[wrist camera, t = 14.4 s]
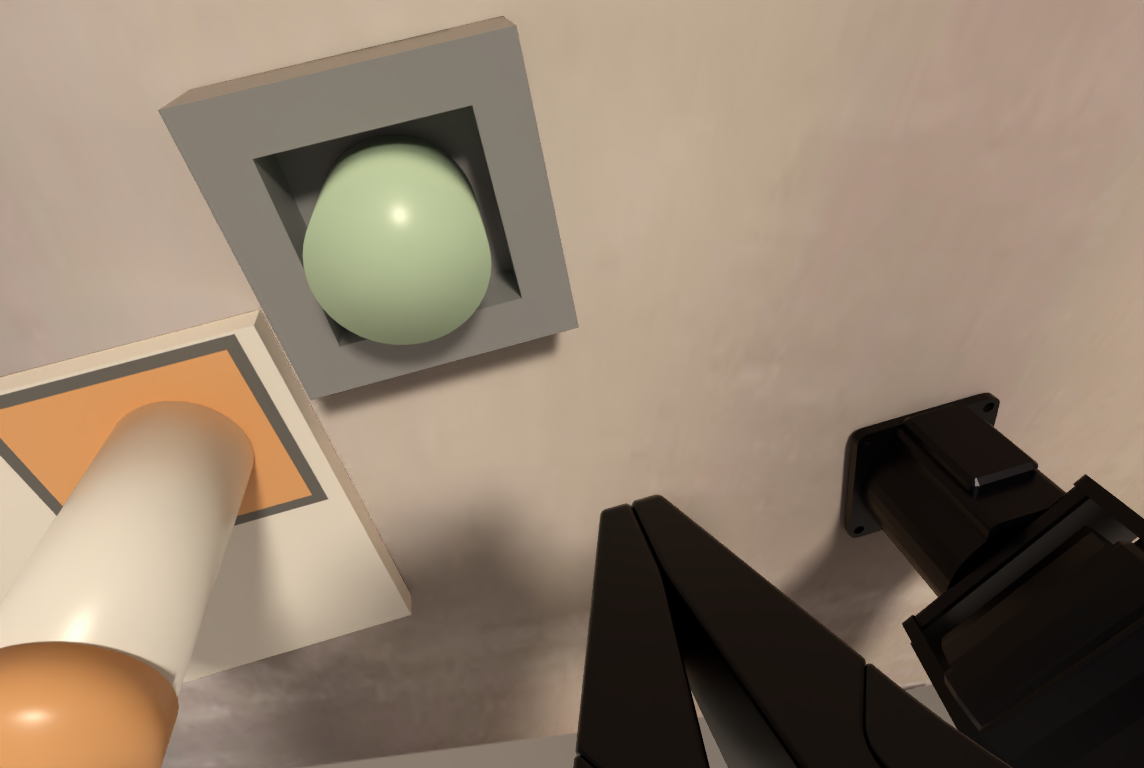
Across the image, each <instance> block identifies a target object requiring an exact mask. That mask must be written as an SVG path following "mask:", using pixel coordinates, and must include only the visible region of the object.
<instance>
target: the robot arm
mask: <svg viewBox="0 0 1144 768" xmlns="http://www.w3.org/2000/svg"><path fill="white" fill-rule="evenodd" d="M999 403H1000V401H999V400H998V398H996V397H995V396H994V395H992V394H991V393H982V394H979V395H976V396H972V397H969V398H965V399H962V400H958V401H955V402H951V403H948V404H945V405H941V406H938V407H934V408H931V409H927V410H924V411H921V412H917V413H914V414H910V415H907V416H903V417H900V418H896V419H893V420H890V421H886V422H883V423H879V424H876V425H872V426H869V427H866V428H863V429H861V430H859V431H858V432H856V433H855V435H854V436H853V439H852V448H851V459H850V470H849V481H848V493H847V504H846V515H845V526H844V527H845V530H846V531H847V533H848V534H849V535H850V536H851V537H854V538H855V537H860V536H863V535H867V534H870V533H873V532H877V531H880V530H883V531H884V532H885V533H886V534H887V535H888V537H889V538H890V539H891V540H892V542H893V543H894V544H895V545H896V546H897V548H898V549H899V550H900V551H901V552H902V554H903V555H904V556H905V557H906V559H907V560H908V561H909V562H910V563H911V565H912V566H913V567H914V568H915V570H916V571H917V572H918V573H919V574H920V576H921V577H922V578H923V579H924V580H925V582H926V583H927V584H928V585H929V587H930V588H931V589H932V590H933V591H934V593H935V594H936V595H937V596H938V598H937V599H936V600H934V601H933V602H932V603H931V604H929V605H928V606H927V607H926V608H925V609H923V610H922V611H921V612H920V613H918V614H917V615H916V616H914V615H912V616H911V617H909V618H908V619H907V620H906V621H904V622H903V623H902V625H903V627H904V629H905V631H906V632H907V634H908V636H909V638H910V640H911V646H912V647H913V649H914V651H915V653H916V655H917V657H918V658H919V660H920V662H921V664H922V666H923V668H924V669H925V671H926V673H927V675H928V677H929V679H930V680H931V682H932V684H933V686H934V688H935V690H936V691H937V693H938V695H939V697H940V699H941V700H942V702H943V704H944V706H945V708H946V710H947V711H948V713H949V715H950V717H951V719H952V721H953V722H954V724H955V726H956V728H957V729H958V730H957V729H955V728H954V727H953V726H951V725H950V724H948V723H947V722H945V721H944V720H942V719H941V718H940V717H939V716H937V715H936V714H935V713H933V712H932V711H931V710H930V709H928V708H927V707H926V706H924V705H923V704H922V703H920V702H919V701H918V700H917V699H915V698H914V697H912V696H911V695H910V694H909V693H907V692H906V691H905V690H903V689H902V688H901V687H900V686H898V685H897V684H896V683H895V682H893V681H892V680H891V679H890V678H888V677H887V676H886V675H885V674H883V673H882V672H881V671H880V670H879V669H877V668H876V667H875V666H874V665H872V664H867V665H866V662H865V659H864V658H863V657H862V656H861V655H859V654H858V653H857V652H856V651H854V650H853V649H852V648H851V647H850V646H848V645H847V644H846V643H845V642H843V641H842V640H841V639H840V638H838V637H837V636H836V635H835V634H833V633H832V632H831V631H830V630H828V629H827V628H826V627H825V626H823V625H822V624H821V623H820V622H818V621H817V620H816V619H815V618H813V617H812V616H811V615H810V614H808V613H807V612H806V611H805V610H803V609H802V608H801V607H800V606H799V605H797V604H796V603H795V602H794V601H792V600H791V599H790V598H789V597H787V596H786V595H785V594H784V593H782V592H781V591H780V590H779V589H777V588H776V587H775V586H774V585H772V584H771V583H770V582H769V581H767V580H766V579H765V578H764V577H762V576H761V575H760V574H759V573H757V572H756V571H755V570H754V569H752V568H751V567H750V566H749V565H748V564H746V563H745V562H744V561H743V560H741V559H740V558H739V557H738V556H736V555H735V554H734V553H733V552H731V551H730V550H729V549H728V548H726V547H725V546H724V545H723V544H721V543H720V542H719V541H718V540H716V539H715V538H714V537H713V536H711V535H710V534H709V533H708V532H706V531H705V530H704V529H703V528H702V527H700V526H699V525H698V524H697V523H695V522H694V521H693V520H692V519H690V518H689V517H688V516H687V515H685V514H684V513H683V512H682V511H680V510H679V509H678V508H677V507H675V506H674V505H673V504H672V503H670V502H669V501H668V500H667V499H665V498H664V497H663V496H661V495H653V496H649V497H646V498H643V499H639V500H636V501H634V502H633V503H632V505H631V506H630V505H629V504H622V505H619V506H615V507H612V508H608V509H605V510H603V511H602V513H601V515H600V523H599V532H598V542H597V551H596V561H595V571H594V580H593V590H592V599H591V609H590V618H589V628H588V637H587V647H586V656H585V666H584V675H583V685H582V694H581V704H580V714H579V723H578V733H577V742H576V754H577V757H575V759H574V767H573V768H710V767H709V763H708V759H707V755H706V751H705V746H704V742H703V738H702V734H701V730H700V726H699V722H698V718H697V714H696V710H695V705H694V701H693V697H692V693H693V695H694V697H695V699H696V701H697V703H698V706H699V708H700V710H701V712H702V714H703V716H704V718H705V720H706V722H707V724H708V726H709V729H710V731H711V733H712V735H713V737H714V739H715V741H716V743H717V745H718V747H719V749H720V752H721V754H722V756H723V758H724V760H725V762H726V764H727V766H728V768H1144V519H1143V518H1142V517H1141V516H1139V515H1138V514H1137V513H1136V512H1134V511H1133V510H1132V509H1130V508H1129V507H1128V506H1126V505H1125V504H1124V503H1123V502H1121V501H1120V500H1119V499H1117V498H1116V497H1115V496H1113V495H1112V494H1111V493H1110V492H1108V491H1107V490H1106V489H1104V488H1103V487H1102V486H1100V485H1099V484H1098V483H1096V482H1095V481H1094V480H1093V479H1091V478H1090V477H1089V476H1087V475H1086V474H1085V475H1084V476H1082V477H1081V478H1080V479H1079V480H1077V481H1076V482H1075V483H1074V484H1073V485H1075V487H1073V488H1072V489H1071V490H1070V491H1069V492H1067V493H1066V492H1065V491H1063V490H1062V489H1061V488H1060V487H1059V486H1057V485H1056V484H1055V483H1054V482H1052V481H1051V480H1050V479H1049V478H1048V477H1046V476H1045V475H1044V474H1043V473H1042V472H1040V471H1039V470H1038V469H1037V468H1038V464H1037V462H1036V461H1035V460H1033V459H1032V458H1031V457H1030V456H1029V455H1027V454H1026V453H1025V452H1024V451H1022V450H1021V449H1020V448H1019V447H1017V446H1016V445H1015V444H1014V443H1013V442H1011V441H1010V440H1009V439H1008V438H1006V437H1005V436H1004V435H1003V434H1001V433H1000V432H999V431H998V430H997V429H995V428H994V424H995V420H996V416H997V412H998V408H999ZM1137 537H1139V538H1140V539H1139V540H1137V541H1136V542H1135V543H1132V541H1133V540H1134V539H1136V538H1137ZM865 665H866V667H865ZM691 691H692V693H691Z"/></svg>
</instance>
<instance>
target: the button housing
mask: <svg viewBox="0 0 1144 768" xmlns="http://www.w3.org/2000/svg"><path fill="white" fill-rule="evenodd" d="M158 111H159V113H160V115H161V117H162V119H163V121H164V123H165V124H166V126H167V128H168V130H169V132H170V134H171V136H172V138H173V140H174V142H175V143H176V145H177V147H178V149H179V151H180V153H181V155H182V157H183V159H184V161H185V162H186V164H187V166H188V168H189V170H190V172H191V174H192V176H193V178H194V180H195V181H196V183H197V185H198V187H199V189H200V191H201V193H202V195H203V197H204V199H205V200H206V202H207V204H208V206H209V208H210V210H211V212H212V214H213V216H214V218H215V219H216V221H217V223H218V225H219V227H220V229H221V231H222V233H223V235H224V237H225V238H226V240H227V242H228V244H229V246H230V248H231V250H232V252H233V254H234V256H235V257H236V259H237V261H238V263H239V265H240V267H241V269H242V271H243V273H244V275H245V276H246V278H247V280H248V282H249V284H250V286H251V288H252V290H253V292H254V294H255V295H256V297H257V299H258V301H259V303H260V305H261V307H262V309H263V311H264V313H265V314H266V316H267V318H268V320H269V322H270V324H271V326H272V328H273V330H274V332H275V333H276V335H277V337H278V339H279V341H280V343H281V345H282V347H283V349H284V351H285V352H286V354H287V356H288V358H289V360H290V362H291V364H292V366H293V368H294V370H295V371H296V373H297V375H298V377H299V379H300V381H301V383H302V385H303V387H304V389H305V390H306V392H307V394H308V396H309V398H310V400H313V399H316V398H320V397H324V396H328V395H331V394H335V393H339V392H342V391H346V390H350V389H353V388H357V387H361V386H364V385H368V384H372V383H375V382H379V381H383V380H386V379H390V378H394V377H398V376H401V375H405V374H409V373H412V372H416V371H420V370H423V369H427V368H431V367H434V366H438V365H442V364H445V363H449V362H453V361H456V360H460V359H464V358H467V357H471V356H475V355H479V354H482V353H486V352H490V351H493V350H497V349H501V348H504V347H508V346H512V345H515V344H519V343H523V342H526V341H530V340H534V339H537V338H541V337H545V336H549V335H552V334H556V333H560V332H563V331H567V330H571V329H574V328H578V322H577V317H576V312H575V307H574V302H573V298H572V293H571V288H570V283H569V278H568V273H567V269H566V264H565V259H564V254H563V249H562V244H561V239H560V235H559V230H558V225H557V220H556V215H555V210H554V206H553V201H552V196H551V191H550V186H549V181H548V177H547V172H546V167H545V162H544V157H543V152H542V148H541V143H540V138H539V133H538V128H537V123H536V119H535V114H534V109H533V104H532V99H531V94H530V90H529V85H528V80H527V75H526V70H525V65H524V60H523V56H522V51H521V46H520V41H519V36H518V31H517V27H516V25H515V24H514V23H512V22H511V21H509V20H508V19H506V18H505V17H504V16H500V17H496V18H492V19H488V20H483V21H479V22H475V23H471V24H467V25H462V26H458V27H454V28H450V29H445V30H441V31H437V32H433V33H428V34H424V35H420V36H416V37H412V38H407V39H403V40H399V41H395V42H390V43H386V44H382V45H378V46H374V47H369V48H365V49H361V50H357V51H352V52H348V53H344V54H340V55H335V56H331V57H327V58H323V59H319V60H314V61H310V62H306V63H302V64H297V65H293V66H289V67H285V68H280V69H276V70H272V71H268V72H264V73H259V74H255V75H251V76H247V77H242V78H238V79H234V80H230V81H225V82H221V83H217V84H213V85H209V86H204V87H200V88H196V89H192V90H189V91H187V92H186V93H184V94H182V95H181V96H179V97H178V98H176V99H175V100H173V101H172V102H170V103H169V104H167V105H166V106H164V107H162V108H161V109H159V110H158ZM383 135H403V136H410V137H414V138H418V139H421V140H424V141H426V142H429V143H431V144H433V145H434V146H436V147H438V148H440V149H441V150H442V151H444V152H445V153H447V154H448V155H449V156H450V157H451V158H452V159H454V160H455V161H456V163H457V164H458V165H459V166H460V167H461V168H462V170H463V171H464V173H465V174H466V176H467V177H468V179H469V181H470V183H471V185H472V188H473V191H474V194H475V197H476V200H477V204H478V208H479V211H480V215H481V218H482V222H483V225H484V229H485V232H486V236H487V240H488V243H489V248H490V253H491V275H490V280H489V284H488V288H487V290H486V293H485V296H484V297H483V299H482V301H481V303H480V305H479V306H478V308H477V309H476V310H475V312H474V313H473V314H472V315H471V316H470V317H469V318H468V319H467V321H465V322H464V323H463V324H462V325H461V326H459V327H458V328H457V329H455V330H453V331H452V332H450V333H449V334H446V335H444V336H442V337H440V338H437V339H434V340H431V341H428V342H424V343H419V344H410V345H393V344H385V343H380V342H376V341H372V340H369V339H366V338H364V337H361V336H359V335H357V334H355V333H353V332H351V331H349V330H347V329H346V328H344V327H343V326H341V325H340V324H339V323H337V322H336V321H335V320H334V319H333V318H331V317H330V316H329V315H328V313H327V312H326V311H325V310H324V309H323V308H322V307H321V305H320V304H319V303H318V301H317V300H316V298H315V296H314V295H313V293H312V291H311V289H310V287H309V284H308V281H307V279H306V275H305V271H304V265H303V244H304V239H305V235H306V231H307V228H308V225H309V222H310V220H311V217H312V214H313V211H314V208H315V205H316V203H317V200H318V197H319V194H320V191H321V189H322V186H323V183H324V180H325V178H326V175H327V173H328V172H329V170H330V168H331V166H332V165H333V164H334V163H335V161H336V160H337V159H338V158H339V157H340V156H341V155H342V154H343V153H344V152H345V151H346V150H348V149H349V148H351V147H352V146H354V145H355V144H357V143H359V142H362V141H364V140H367V139H370V138H373V137H377V136H383Z"/></svg>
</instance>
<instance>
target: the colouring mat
mask: <svg viewBox="0 0 1144 768" xmlns="http://www.w3.org/2000/svg"><path fill="white" fill-rule="evenodd" d="M162 401H183V402H190V403H195V404H199V405H203V406H206V407H208V408H211V409H214V410H216V411H218V412H220V413H222V414H223V415H225V416H227V417H228V418H230V419H231V420H232V421H233V422H235V423H236V424H237V425H238V426H239V427H240V428H241V429H242V430H243V431H244V433H245V434H246V435H247V437H248V439H249V441H250V443H251V445H252V448H253V453H254V463H253V468H252V471H251V474H250V477H249V481H248V484H247V487H246V490H245V493H244V496H243V499H242V502H241V505H240V508H239V511H238V514H237V517H236V521H235V524H234V527H233V530H232V533H231V536H230V539H229V542H228V545H227V548H226V551H225V554H224V557H223V561H222V564H221V567H220V570H219V573H218V576H217V579H216V582H215V585H214V588H213V591H212V594H211V597H210V601H209V604H208V607H207V610H206V613H205V616H204V619H203V622H202V625H201V628H200V631H199V634H198V638H197V641H196V644H195V647H194V650H193V653H192V656H191V659H190V662H189V665H188V668H187V671H186V674H185V678H184V681H183V683H184V682H187V681H190V680H194V679H197V678H201V677H204V676H207V675H211V674H214V673H217V672H221V671H224V670H227V669H231V668H234V667H238V666H241V665H244V664H248V663H251V662H254V661H258V660H261V659H265V658H268V657H271V656H275V655H278V654H281V653H285V652H288V651H291V650H295V649H298V648H302V647H305V646H308V645H312V644H315V643H318V642H322V641H325V640H329V639H332V638H335V637H339V636H342V635H345V634H349V633H352V632H355V631H359V630H362V629H366V628H369V627H372V626H376V625H379V624H382V623H386V622H389V621H393V620H396V619H399V618H403V617H406V616H409V615H411V594H410V592H409V590H408V588H407V587H406V585H405V583H404V581H403V579H402V577H401V575H400V573H399V571H398V570H397V568H396V566H395V564H394V562H393V560H392V558H391V556H390V554H389V553H388V551H387V549H386V547H385V545H384V543H383V541H382V539H381V537H380V536H379V534H378V532H377V530H376V528H375V526H374V524H373V522H372V520H371V519H370V517H369V515H368V513H367V511H366V509H365V507H364V505H363V503H362V502H361V500H360V498H359V496H358V494H357V492H356V490H355V488H354V486H353V485H352V483H351V481H350V479H349V477H348V475H347V473H346V471H345V469H344V468H343V466H342V464H341V462H340V460H339V458H338V456H337V454H336V452H335V451H334V449H333V447H332V445H331V443H330V441H329V439H328V437H327V435H326V434H325V432H324V430H323V428H322V426H321V424H320V422H319V420H318V418H317V417H316V415H315V413H314V411H313V409H312V407H311V405H310V403H309V401H308V400H307V398H306V396H305V394H304V392H303V390H302V388H301V386H300V384H299V383H298V381H297V379H296V377H295V375H294V373H293V371H292V369H291V367H290V366H289V364H288V362H287V360H286V358H285V356H284V354H283V352H282V350H281V349H280V347H279V345H278V343H277V341H276V339H275V337H274V335H273V333H272V332H271V330H270V328H269V326H268V324H267V322H266V320H265V318H264V316H263V315H262V313H261V311H260V310H257V311H253V312H250V313H246V314H242V315H238V316H234V317H230V318H227V319H223V320H219V321H215V322H211V323H207V324H204V325H200V326H196V327H192V328H188V329H184V330H181V331H177V332H173V333H169V334H165V335H161V336H158V337H154V338H150V339H146V340H142V341H138V342H134V343H131V344H127V345H123V346H119V347H115V348H111V349H108V350H104V351H100V352H96V353H92V354H88V355H85V356H81V357H77V358H73V359H69V360H65V361H62V362H58V363H54V364H50V365H46V366H42V367H39V368H35V369H31V370H27V371H23V372H19V373H16V374H12V375H8V376H4V377H0V603H1V602H2V600H3V599H4V597H5V596H6V594H7V592H8V591H9V589H10V588H11V586H12V585H13V583H14V582H15V580H16V579H17V577H18V575H19V574H20V572H21V571H22V569H23V568H24V566H25V565H26V563H27V562H28V560H29V558H30V557H31V555H32V554H33V552H34V551H35V549H36V548H37V546H38V545H39V543H40V541H41V540H42V538H43V537H44V535H45V534H46V532H47V531H48V529H49V528H50V526H51V524H52V523H53V521H54V520H55V518H56V517H57V515H58V514H59V512H60V511H61V509H62V507H63V506H64V504H65V503H66V501H67V500H68V498H69V497H70V495H71V494H72V492H73V490H74V489H75V487H76V486H77V484H78V483H79V481H80V480H81V478H82V476H83V475H84V473H85V472H86V470H87V469H88V467H89V466H90V464H91V463H92V461H93V459H94V458H95V456H96V455H97V453H98V452H99V450H100V449H101V447H102V446H103V444H104V442H105V441H106V439H107V438H108V436H109V435H110V433H111V432H112V430H113V429H114V427H115V426H116V424H117V423H118V422H119V420H120V419H121V418H122V417H123V416H125V415H126V414H127V413H129V412H130V411H132V410H134V409H136V408H138V407H140V406H143V405H146V404H150V403H154V402H162Z"/></svg>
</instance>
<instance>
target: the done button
mask: <svg viewBox="0 0 1144 768" xmlns="http://www.w3.org/2000/svg"><path fill="white" fill-rule="evenodd" d="M303 265H304V271H305V275H306V279H307V281H308V284H309V287H310V289H311V291H312V293H313V295H314V296H315V298H316V300H317V301H318V303H319V304H320V305H321V307H322V308H323V309H324V310H325V311H326V312H327V313H328V315H329V316H330V317H331V318H333V319H334V320H335V321H336V322H337V323H339V324H340V325H341V326H343V327H344V328H346V329H347V330H349V331H351V332H353V333H355V334H357V335H359V336H361V337H364V338H366V339H369V340H372V341H376V342H380V343H385V344H393V345H410V344H419V343H424V342H428V341H431V340H434V339H437V338H440V337H442V336H444V335H446V334H449V333H450V332H452V331H453V330H455V329H457V328H458V327H459V326H461V325H462V324H463V323H464V322H465V321H467V319H468V318H469V317H470V316H471V315H472V314H473V313H474V312H475V310H476V309H477V308H478V306H479V305H480V303H481V301H482V299H483V297H484V296H485V293H486V290H487V288H488V284H489V280H490V275H491V253H490V248H489V243H488V240H487V236H486V232H485V229H484V225H483V222H482V218H481V215H480V211H479V208H478V204H477V200H476V197H475V194H474V191H473V188H472V185H471V183H470V181H469V179H468V177H467V176H466V174H465V173H464V171H463V170H462V168H461V167H460V166H459V165H458V164H457V163H456V161H455V160H454V159H452V158H451V157H450V156H449V155H448V154H447V153H445V152H444V151H442V150H441V149H440V148H438V147H436V146H434V145H433V144H431V143H429V142H426V141H424V140H421V139H418V138H414V137H410V136H403V135H383V136H377V137H373V138H370V139H367V140H364V141H362V142H359V143H357V144H355V145H354V146H352V147H351V148H349V149H348V150H346V151H345V152H344V153H343V154H342V155H341V156H340V157H339V158H338V159H337V160H336V161H335V163H334V164H333V165H332V166H331V168H330V170H329V172H328V173H327V175H326V178H325V180H324V183H323V186H322V189H321V191H320V194H319V197H318V200H317V203H316V205H315V208H314V211H313V214H312V217H311V220H310V222H309V225H308V228H307V231H306V235H305V239H304V244H303Z"/></svg>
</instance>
